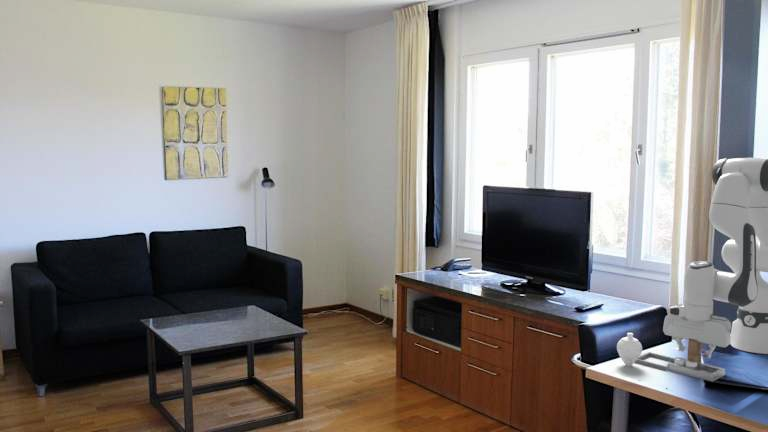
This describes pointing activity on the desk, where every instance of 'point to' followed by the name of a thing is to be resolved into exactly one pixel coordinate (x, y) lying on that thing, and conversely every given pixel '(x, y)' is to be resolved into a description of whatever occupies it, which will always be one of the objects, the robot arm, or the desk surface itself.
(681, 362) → the shiny gray ball
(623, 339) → the white vase
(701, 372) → the slot block
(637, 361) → the tray
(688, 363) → the silver metal ball
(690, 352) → the tan long rectangular block
